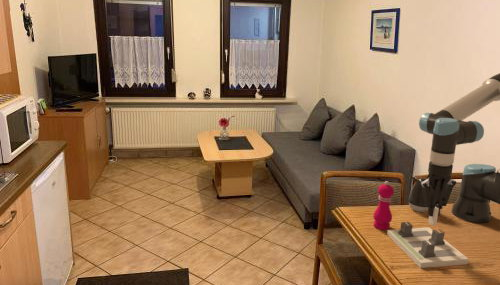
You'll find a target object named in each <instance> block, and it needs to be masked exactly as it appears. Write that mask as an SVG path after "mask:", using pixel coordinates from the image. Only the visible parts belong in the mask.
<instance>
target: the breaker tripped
mask: <svg viewBox="0 0 500 285" xmlns="http://www.w3.org/2000/svg"><path fill="white" fill-rule="evenodd" d="M445 234H446V233H445V232H444V231H443V230H442V229H440V228H438V229H432V236H431V238H430V239H429V240H430V241H432V242H433V243H434V244H435V245H439V244H445V242H444V241H443V240H445Z"/></svg>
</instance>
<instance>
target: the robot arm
mask: <svg viewBox="0 0 500 285" xmlns="http://www.w3.org/2000/svg"><path fill="white" fill-rule="evenodd" d="M498 101H500V73H497V74H495V75H492V76H491V77H489V78H488V79H486V80H484V81H483V83H482V85H480V86H479V87H478V88H475V89H473V90H472V91H470V92H469V93H467V94H466V95H464V96H462V97H460V98H459V99H457V100H455V101H454V102H452V103H450V104H449V105H447V106H445V107H444V108H442V109H441V110H439V111H437V112H435V113H433V112H426V113H423V114H422V115H421V117H420V118H419V121H418V125H419V129H420V130H421V131H422V132H425V133H427V134H429V135H432V141H431V149H430V154H429V163H428V169H427V170H428V175H427V176H426V180H425V181H421V182H420V184H421V186H422V191H423V201H424V205H426V206H427V207H429V208H428V211H427V215H428V221H427V222H428V223H429V224H430V225H431V226H437V224H438V216H440V213H441V210H443V209H444V207H446V206H447V204H448V202H449V199H450V197H451V194H452V191H453V189H454V187H455V186H456V184H457V181H456V180H454V179H452V177H451V175H453V174H452V173H453V167H454V165H453V164H454V162H455V161H454V160H455V154H456V148H457V146H459V145H466V144H473V143H475V142H478V141H480V140H482V138H483V137H484V135H485V128H484V126H483V125H482V124H481V123H480V122H479V121H476V120H468V121H464V120H465V119H467V118H469V117H470V116H472V115H473V114H475V113H477V112H479V111H480V110H482V109H484V108H485V107H487V106H488V105H490V104H492V103H493V102H498ZM461 175H462V177H461V182H460V187H459V193H458V194H459V195H458V197H457V199H455V202H454V204H452V207H451V213H452V214H453V215H454V216H455V217H457V218H459V219H461V220H464V221H467V222H471V223H488V222H490V221H491V218H492V212H491V205H490V202H493V203H496V204H498V205H500V168H499V169H496V167H495V166H493V165H491V164H483V163H471V164H470V163H469V164H467V165H465V166H464V168H463V172H462V174H461ZM429 184H430V192H429Z"/></svg>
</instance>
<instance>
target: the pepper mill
mask: <svg viewBox="0 0 500 285" xmlns="http://www.w3.org/2000/svg"><path fill="white" fill-rule="evenodd" d="M394 192H395V191H394V188H393V186H392V185H391V184H390V181H388V180H385V181H384V183H383V184H380V185H379V186H378V188H377V193H378V200H379V202H378V205H377V207H376V209H375V211H374V212H373V216H372V217H373V219H374V220H373V227H374V228H376V230H379V229H380V231H387V230H390V228H391V227H390V224H391V222H392V219H393V216H392V214H393V213H392V212H391V208H390V204H391V202H392V199H393V198H392V196H393V195H394Z"/></svg>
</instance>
